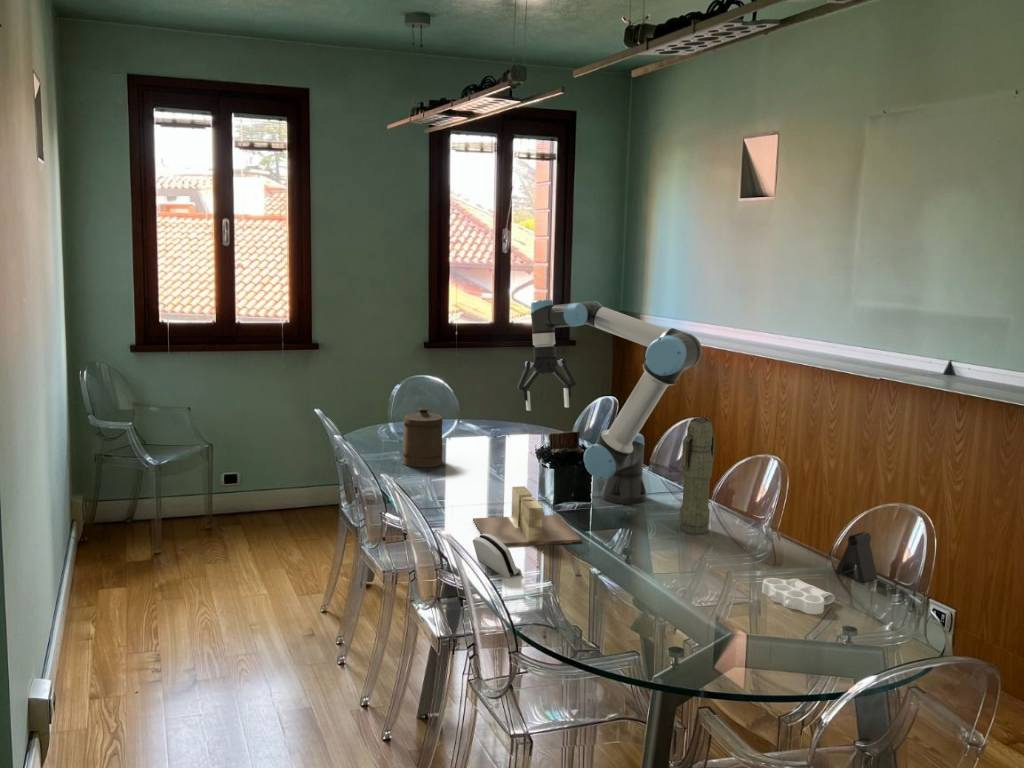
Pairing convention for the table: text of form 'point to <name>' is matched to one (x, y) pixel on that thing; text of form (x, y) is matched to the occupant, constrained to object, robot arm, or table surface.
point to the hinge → (495, 555)
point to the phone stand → (858, 559)
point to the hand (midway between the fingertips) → (547, 409)
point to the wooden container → (422, 439)
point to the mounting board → (516, 537)
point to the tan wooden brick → (518, 502)
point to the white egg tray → (797, 595)
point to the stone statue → (697, 476)
